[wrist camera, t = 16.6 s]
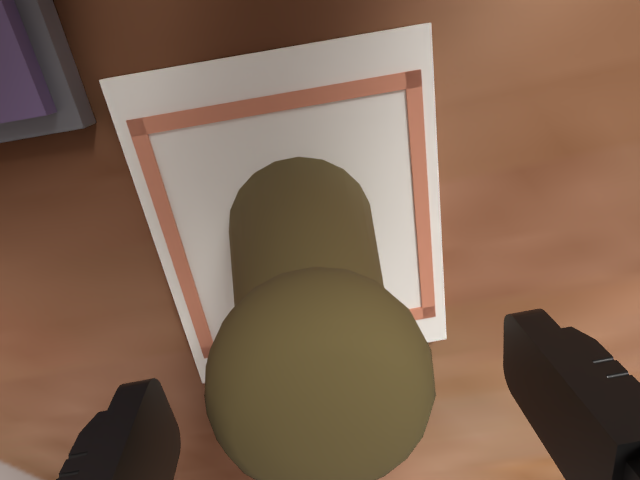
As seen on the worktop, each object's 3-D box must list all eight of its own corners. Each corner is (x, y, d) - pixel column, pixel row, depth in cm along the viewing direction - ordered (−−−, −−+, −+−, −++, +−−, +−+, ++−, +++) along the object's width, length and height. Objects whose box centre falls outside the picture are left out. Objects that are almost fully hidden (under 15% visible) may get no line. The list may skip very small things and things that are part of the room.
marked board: (108, 77, 17) (97, 80, 16) (423, 23, 17) (432, 22, 16) (205, 369, 23) (201, 385, 22) (439, 327, 23) (447, 340, 22)
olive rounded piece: (220, 159, 17) (141, 320, 7) (374, 153, 18) (498, 296, 8) (236, 294, 20) (191, 552, 10) (371, 286, 20) (461, 525, 10)
